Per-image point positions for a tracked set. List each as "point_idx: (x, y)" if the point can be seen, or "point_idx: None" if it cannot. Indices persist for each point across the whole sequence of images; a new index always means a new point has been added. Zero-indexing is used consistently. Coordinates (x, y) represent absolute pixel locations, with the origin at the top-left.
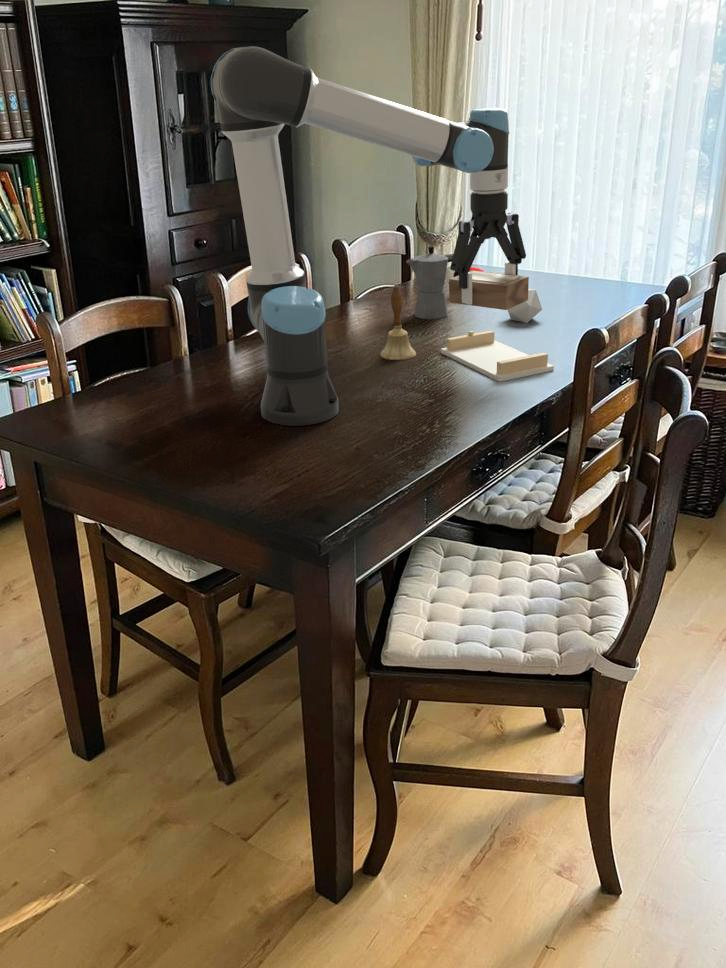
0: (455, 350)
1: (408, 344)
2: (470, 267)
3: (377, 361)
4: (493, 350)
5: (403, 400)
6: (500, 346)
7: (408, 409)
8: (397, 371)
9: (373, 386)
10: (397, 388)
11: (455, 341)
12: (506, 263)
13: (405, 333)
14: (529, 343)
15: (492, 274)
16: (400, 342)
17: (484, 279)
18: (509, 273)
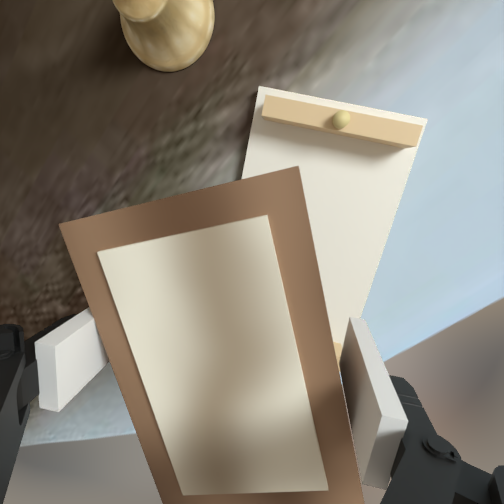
0: (275, 129)
1: (170, 36)
2: (22, 432)
3: (96, 30)
4: (343, 200)
5: (24, 276)
6: (384, 188)
7: (12, 311)
8: (95, 134)
9: (11, 178)
10: (44, 221)
11: (279, 119)
12: (378, 429)
13: (148, 15)
14: (489, 196)
15: (273, 360)
16: (138, 29)
17: (166, 393)
18: (358, 410)
